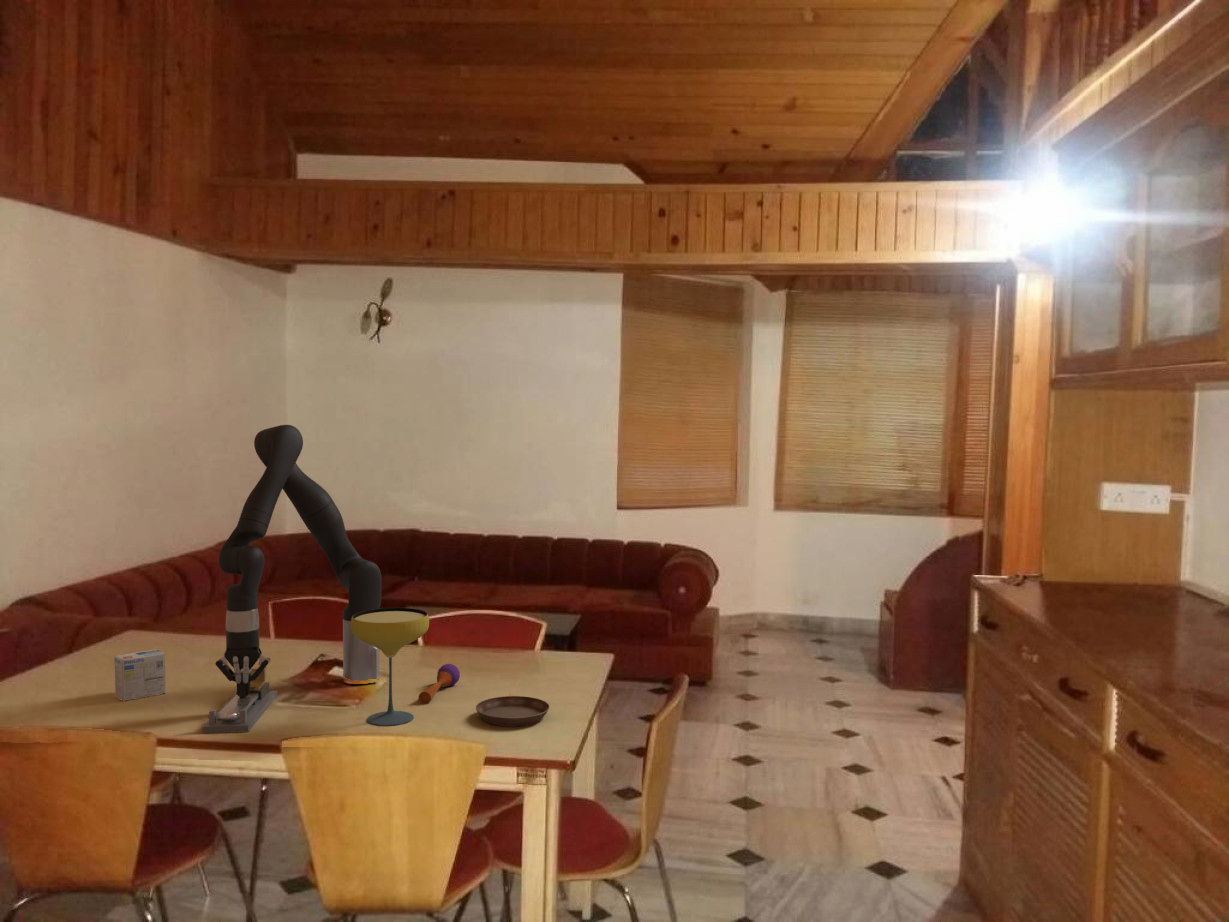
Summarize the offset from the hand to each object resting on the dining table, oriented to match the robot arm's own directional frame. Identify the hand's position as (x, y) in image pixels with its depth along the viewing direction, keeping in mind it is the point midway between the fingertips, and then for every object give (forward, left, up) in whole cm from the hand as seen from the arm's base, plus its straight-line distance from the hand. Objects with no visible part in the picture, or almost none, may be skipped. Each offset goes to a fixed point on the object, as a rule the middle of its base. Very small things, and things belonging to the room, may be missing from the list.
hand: (243, 697), depth 236 cm
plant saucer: (-65, +10, -4) cm, 66 cm away
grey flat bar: (0, +6, -1) cm, 6 cm away
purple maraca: (-46, -13, -4) cm, 48 cm away
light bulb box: (+30, -16, -4) cm, 34 cm away
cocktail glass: (-36, +9, -4) cm, 37 cm away
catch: (0, -8, +1) cm, 7 cm away
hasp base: (0, +2, -3) cm, 4 cm away
